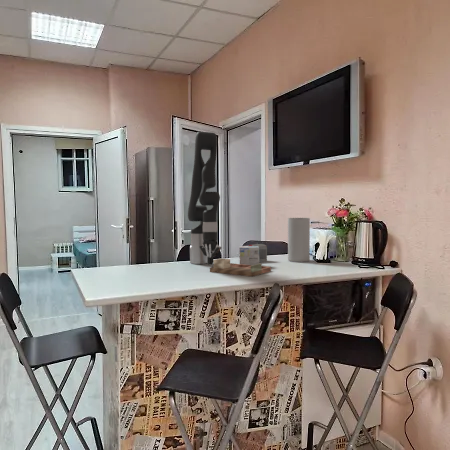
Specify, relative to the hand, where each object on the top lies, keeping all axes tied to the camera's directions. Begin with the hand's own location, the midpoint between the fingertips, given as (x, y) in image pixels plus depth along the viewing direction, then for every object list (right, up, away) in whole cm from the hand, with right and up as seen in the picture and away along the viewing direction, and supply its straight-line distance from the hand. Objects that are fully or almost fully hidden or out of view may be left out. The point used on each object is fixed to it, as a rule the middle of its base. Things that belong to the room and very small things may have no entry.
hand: (210, 264), depth 205 cm
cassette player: (+24, -2, +28) cm, 37 cm away
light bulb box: (+21, -2, +12) cm, 24 cm away
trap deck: (+15, -3, -4) cm, 16 cm away
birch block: (+6, -1, -4) cm, 7 cm away
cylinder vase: (+51, -1, +29) cm, 59 cm away
